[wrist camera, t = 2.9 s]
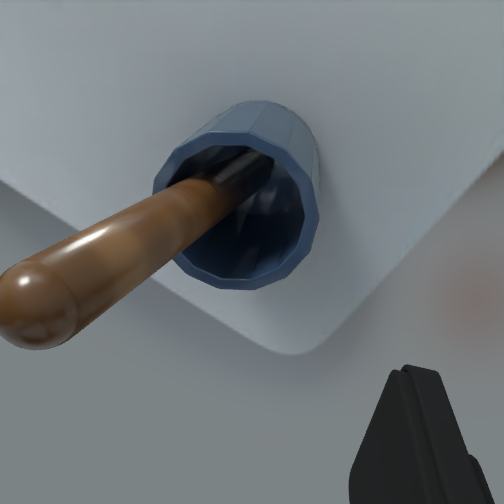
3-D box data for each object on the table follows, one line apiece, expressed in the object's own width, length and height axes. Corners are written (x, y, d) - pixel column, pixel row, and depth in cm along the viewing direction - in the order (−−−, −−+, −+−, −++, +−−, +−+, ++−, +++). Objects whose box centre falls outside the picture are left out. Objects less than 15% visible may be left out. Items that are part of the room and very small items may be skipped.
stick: (280, 151, 23) (47, 300, 9) (271, 190, 24) (46, 382, 10) (241, 140, 23) (-38, 266, 9) (234, 179, 24) (-32, 348, 10)
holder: (332, 113, 23) (338, 151, 16) (302, 230, 26) (294, 307, 18) (210, 86, 23) (160, 111, 16) (193, 204, 26) (143, 271, 19)
